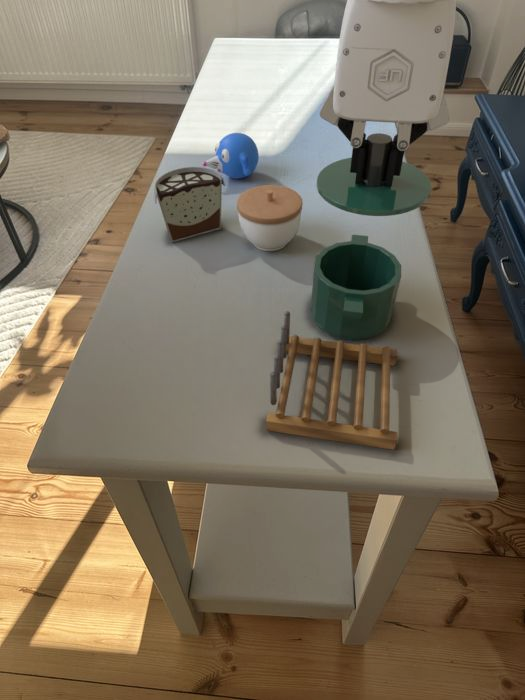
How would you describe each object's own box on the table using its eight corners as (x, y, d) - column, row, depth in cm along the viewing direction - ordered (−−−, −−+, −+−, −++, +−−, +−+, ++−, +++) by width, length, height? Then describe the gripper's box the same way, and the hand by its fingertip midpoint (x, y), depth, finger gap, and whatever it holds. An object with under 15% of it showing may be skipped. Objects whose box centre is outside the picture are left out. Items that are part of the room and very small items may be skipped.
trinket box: (247, 264, 80) (245, 214, 73) (233, 229, 87) (229, 180, 80) (309, 253, 82) (312, 203, 75) (289, 219, 89) (291, 171, 82)
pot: (390, 280, 76) (401, 234, 70) (389, 359, 65) (401, 313, 59) (317, 272, 78) (321, 227, 72) (304, 348, 67) (307, 302, 60)
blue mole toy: (193, 172, 102) (188, 131, 96) (244, 159, 105) (242, 119, 99) (216, 198, 94) (212, 156, 88) (269, 183, 98) (269, 142, 92)
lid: (427, 169, 58) (439, 117, 54) (431, 226, 50) (445, 170, 45) (322, 162, 60) (326, 112, 56) (309, 216, 52) (312, 161, 47)
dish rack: (394, 359, 65) (407, 314, 59) (394, 449, 56) (409, 407, 49) (284, 345, 67) (286, 300, 61) (266, 430, 58) (265, 387, 52)
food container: (215, 210, 91) (210, 159, 84) (228, 226, 88) (224, 174, 80) (153, 227, 88) (142, 175, 80) (163, 244, 84) (153, 192, 77)
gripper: (302, -19, 39) (296, 190, 52) (514, -18, 37) (451, 202, 50) (314, -36, 44) (306, 159, 57) (500, -36, 42) (447, 168, 55)
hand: (373, 178), depth 54 cm, fingers closed on lid, 2 cm apart
